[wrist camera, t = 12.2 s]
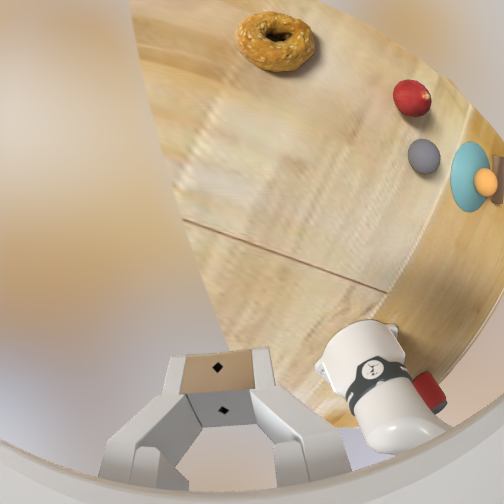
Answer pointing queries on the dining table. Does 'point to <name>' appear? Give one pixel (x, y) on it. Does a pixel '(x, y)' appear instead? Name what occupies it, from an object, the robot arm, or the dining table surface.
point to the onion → (412, 98)
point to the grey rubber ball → (424, 156)
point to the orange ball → (485, 182)
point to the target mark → (467, 176)
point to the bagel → (275, 53)
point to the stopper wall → (498, 179)
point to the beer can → (430, 392)
